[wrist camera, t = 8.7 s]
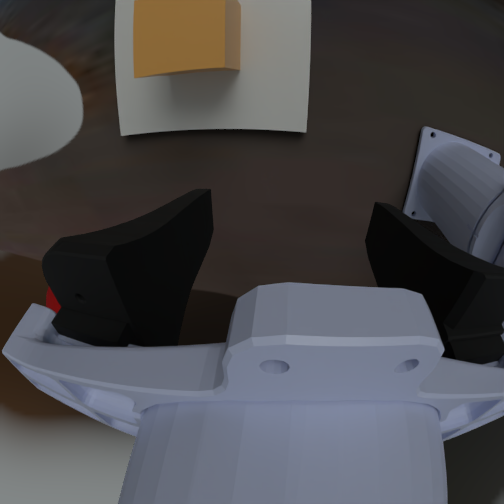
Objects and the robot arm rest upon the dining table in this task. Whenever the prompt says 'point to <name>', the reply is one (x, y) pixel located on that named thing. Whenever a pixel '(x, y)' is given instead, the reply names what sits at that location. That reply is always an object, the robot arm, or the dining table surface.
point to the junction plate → (224, 77)
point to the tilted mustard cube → (185, 36)
